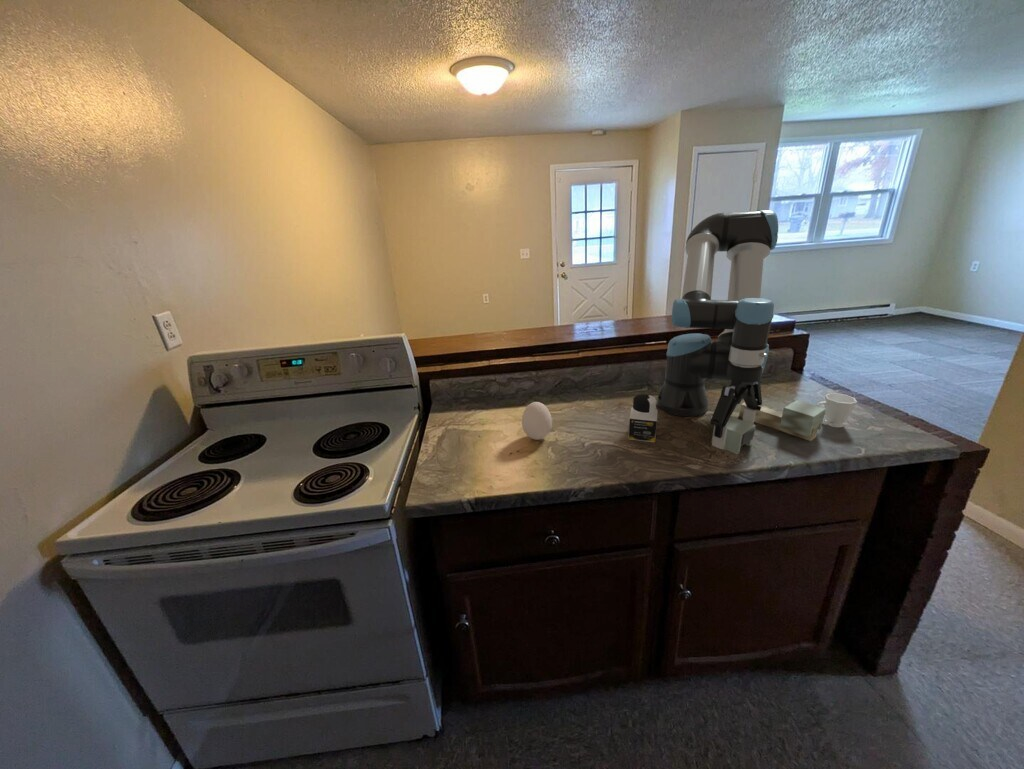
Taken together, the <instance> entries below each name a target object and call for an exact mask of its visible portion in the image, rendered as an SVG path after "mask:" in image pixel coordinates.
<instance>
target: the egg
mask: <svg viewBox="0 0 1024 769" xmlns="http://www.w3.org/2000/svg"><path fill="white" fill-rule="evenodd" d="M551 414H552V413H550V410H549V408H548V407H547V406H546V405H545V404H543V403H542V402H539V401H532V402H531V403H529V404H528V405H527V406H526V408H525V409H524V410H523V413H522V416H521V426H522V431H523V432H524V433H525V435H526V436H527V437H529V438H530V439H532V440H537V441H538V440H542V439H544V438H546V437H547V436H548V435H549V434H550V432H551V429H552V427H553V418H552V415H551Z"/></svg>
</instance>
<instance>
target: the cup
mask: <svg viewBox="0 0 1024 769" xmlns="http://www.w3.org/2000/svg"><path fill="white" fill-rule="evenodd" d="M857 403H858V400H856V398H855V397H853V396H850V395H847V394H845V393H834V392H831V393H828V394H825V396H824V400H823V401H819V402H817V403H816V404H815V406H818V407H821V405H824V408H825V409H826V411H825V415H824V419H825V420H824V419H823V422H822V425H824V426H826V425H827V426H829V427H832V428H842V427H844V426H845V425H844V424H845V423H846V422H847V420H848V419H849V418H850V416H851V414H852V413H853V410H854V408H855V406H856V405H857Z"/></svg>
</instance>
